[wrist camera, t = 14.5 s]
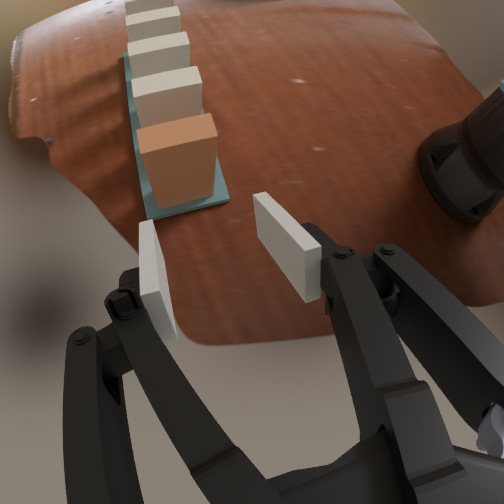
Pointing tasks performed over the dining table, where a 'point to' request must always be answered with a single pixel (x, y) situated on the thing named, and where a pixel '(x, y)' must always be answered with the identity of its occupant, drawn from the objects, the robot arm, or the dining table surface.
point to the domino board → (148, 196)
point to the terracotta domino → (180, 159)
